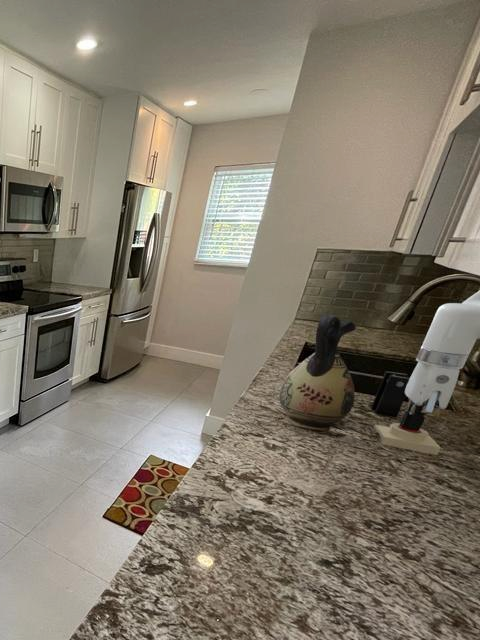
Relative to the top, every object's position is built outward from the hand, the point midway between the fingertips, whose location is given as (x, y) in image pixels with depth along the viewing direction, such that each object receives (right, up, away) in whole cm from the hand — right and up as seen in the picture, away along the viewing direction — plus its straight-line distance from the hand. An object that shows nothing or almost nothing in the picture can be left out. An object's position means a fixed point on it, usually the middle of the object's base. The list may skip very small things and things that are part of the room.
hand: (408, 428), depth 101 cm
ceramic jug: (-17, 0, +11) cm, 20 cm away
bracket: (+9, +2, +16) cm, 19 cm away
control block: (0, -4, +1) cm, 4 cm away
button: (0, -2, +1) cm, 2 cm away
